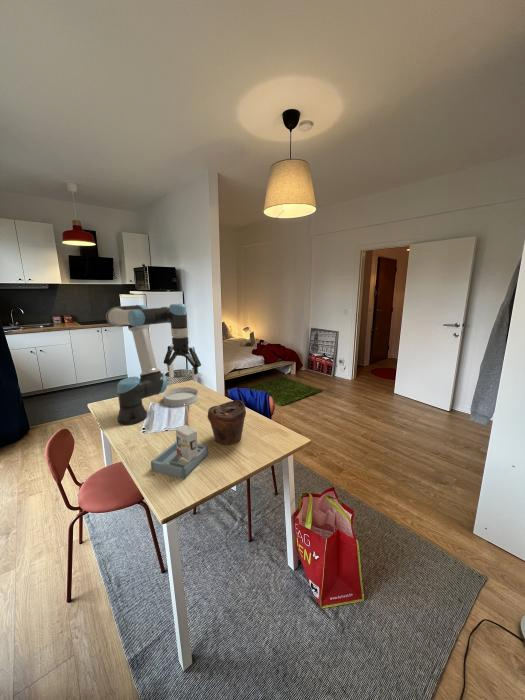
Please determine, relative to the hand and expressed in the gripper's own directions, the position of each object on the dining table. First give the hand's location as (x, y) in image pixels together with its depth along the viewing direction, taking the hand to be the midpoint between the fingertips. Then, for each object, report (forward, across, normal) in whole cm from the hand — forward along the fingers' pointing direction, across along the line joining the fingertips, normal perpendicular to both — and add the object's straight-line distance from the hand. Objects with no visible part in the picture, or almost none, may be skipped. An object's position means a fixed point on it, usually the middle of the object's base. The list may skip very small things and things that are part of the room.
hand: (183, 378), depth 142 cm
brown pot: (+29, +23, +1) cm, 37 cm away
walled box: (+29, +13, -23) cm, 39 cm away
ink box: (+25, +17, -23) cm, 38 cm away
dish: (+29, -28, +34) cm, 53 cm away
